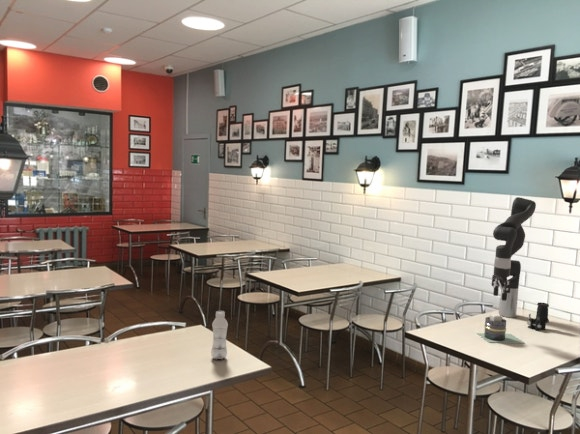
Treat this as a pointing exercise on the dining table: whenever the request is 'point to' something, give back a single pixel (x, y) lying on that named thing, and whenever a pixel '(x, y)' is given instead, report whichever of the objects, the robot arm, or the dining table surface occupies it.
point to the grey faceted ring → (495, 329)
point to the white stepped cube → (495, 318)
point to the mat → (508, 339)
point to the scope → (539, 317)
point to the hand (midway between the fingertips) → (499, 297)
